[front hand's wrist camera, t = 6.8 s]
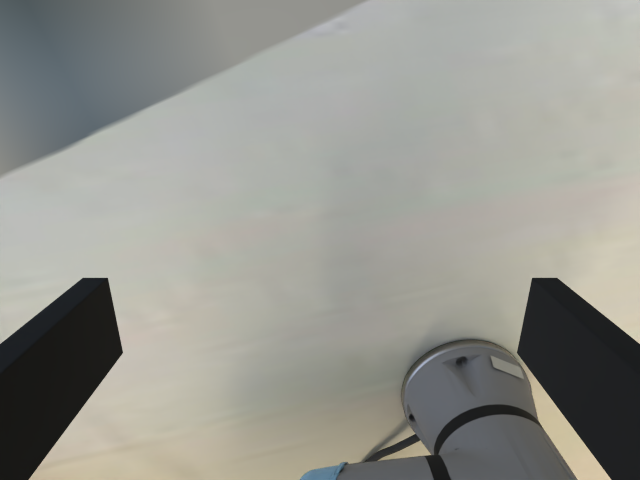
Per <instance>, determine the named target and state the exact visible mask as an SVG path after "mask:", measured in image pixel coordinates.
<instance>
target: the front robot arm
mask: <svg viewBox="0 0 640 480" xmlns="http://www.w3.org/2000/svg"><path fill="white" fill-rule="evenodd" d="M122 353H123V351H122V346H121V341H120V336H119V331H118V326H117V321H116V316H115V311H114V306H113V302H112V297H111V292H110V287H109V282H108V278H82V279H81V280H80V281H79V282H77V283H76V284H75V285H74V286H72V287H71V288H70V289H69V290H67V291H66V292H65V293H64V294H62V295H61V296H60V297H59V298H57V299H56V300H55V301H54V302H52V303H51V304H50V305H49V306H47V307H46V308H45V309H44V310H42V311H41V312H40V313H39V314H37V315H36V316H35V317H34V318H32V319H31V320H30V321H29V322H27V323H26V324H25V325H24V326H22V327H21V328H20V329H19V330H17V331H16V332H15V333H14V334H12V335H11V336H10V337H9V338H7V339H6V340H5V341H4V342H2V343H1V344H0V480H29V478H30V477H31V475H32V474H33V473H34V471H35V470H36V469H37V467H38V466H39V465H40V463H41V462H42V461H43V459H44V458H45V457H46V455H47V454H48V453H49V451H50V450H51V449H52V447H53V446H54V445H55V443H56V442H57V441H58V439H59V438H60V437H61V435H62V434H63V433H64V431H65V430H66V429H67V427H68V426H69V424H70V423H71V422H72V420H73V419H74V418H75V416H76V415H77V414H78V412H79V411H80V410H81V408H82V407H83V406H84V404H85V403H86V402H87V400H88V399H89V398H90V396H91V395H92V394H93V392H94V391H95V390H96V388H97V387H98V386H99V384H100V383H101V382H102V380H103V379H104V378H105V376H106V375H107V373H108V372H109V371H110V369H111V368H112V367H113V365H114V364H115V363H116V361H117V360H118V359H119V357H120V356H121V355H122ZM517 353H518V355H519V356H520V357H521V359H522V360H523V361H524V363H525V364H526V365H527V367H528V368H529V369H530V371H531V372H532V373H533V375H534V376H535V378H536V379H537V380H538V382H539V383H540V384H541V386H542V387H543V388H544V390H545V391H546V392H547V394H548V395H549V396H550V398H551V399H552V400H553V402H554V403H555V404H556V406H557V407H558V408H559V410H560V411H561V412H562V414H563V415H564V416H565V418H566V419H567V420H568V422H569V423H570V424H571V426H572V427H573V429H574V430H575V431H576V433H577V434H578V435H579V437H580V438H581V439H582V441H583V442H584V443H585V445H586V446H587V447H588V449H589V450H590V451H591V453H592V454H593V455H594V457H595V458H596V459H597V461H598V462H599V463H600V465H601V466H602V467H603V469H604V470H605V471H606V473H607V474H608V475H609V477H610V478H611V480H640V344H639V343H638V342H636V341H635V340H634V339H633V338H631V337H630V336H629V335H628V334H626V333H625V332H624V331H623V330H621V329H620V328H619V327H618V326H616V325H615V324H614V323H613V322H611V321H610V320H609V319H608V318H606V317H605V316H604V315H603V314H601V313H600V312H599V311H598V310H596V309H595V308H594V307H593V306H591V305H590V304H589V303H588V302H586V301H585V300H584V299H583V298H581V297H580V296H579V295H578V294H576V293H575V292H574V291H573V290H571V289H570V288H569V287H568V286H566V285H565V284H564V283H563V282H561V281H560V280H559V279H558V278H532V282H531V287H530V292H529V297H528V302H527V306H526V311H525V316H524V321H523V326H522V331H521V336H520V341H519V346H518V351H517ZM401 398H402V405H403V408H404V412H405V415H406V418H407V420H408V422H409V424H410V426H411V428H412V429H413V431H414V432H415V433H416V434H415V435H413V436H411V437H409V438H407V439H405V440H403V441H401V442H399V443H397V444H395V445H392V446H390V447H387V448H385V449H382V450H380V451H378V452H376V453H375V454H373V455H372V456H371V457H370V458H369V459H368V460H367V461H365V462H363V463H354V464H348V462H342V463H340V464H339V465H337V466H331V467H325V468H320V469H314V470H311V471H309V472H307V473H305V474H304V475H303V476H302V477H301V478H300V480H577V478H576V477H575V475H574V474H573V472H572V471H571V469H570V468H569V466H568V465H567V463H566V462H565V460H564V459H563V457H562V456H561V454H560V453H559V451H558V450H557V448H556V447H555V445H554V444H553V442H552V441H551V439H550V438H549V436H548V435H547V433H546V432H545V431H544V429H543V427H542V426H541V424H540V423H539V421H538V417H537V413H536V408H535V404H534V400H533V396H532V391H531V385H530V382H529V380H528V377H527V375H526V373H525V371H524V370H523V368H522V367H521V365H520V364H519V362H518V361H517V360H516V359H515V357H514V356H513V355H512V354H511V353H509V352H508V351H507V350H505V349H504V348H502V347H500V346H498V345H495V344H493V343H490V342H486V341H480V340H461V341H455V342H451V343H447V344H444V345H441V346H439V347H437V348H435V349H433V350H431V351H429V352H428V353H426V354H425V355H424V356H422V357H421V358H420V359H419V360H418V361H417V362H416V363H415V364H414V365H413V366H412V367H411V369H410V370H409V372H408V373H407V375H406V377H405V380H404V382H403V386H402V393H401ZM420 440H421V441H422V443H423V444H424V445H425V447H426V448H427V449H428V451H429V452H430V453H431V455H429V456H418V457H409V458H400V459H391V460H381V461H378V460H379V459H381V458H382V457H385V456H387V455H390V454H392V453H395V452H397V451H400V450H402V449H404V448H406V447H408V446H410V445H412V444H414V443H416V442H418V441H420Z"/></svg>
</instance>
